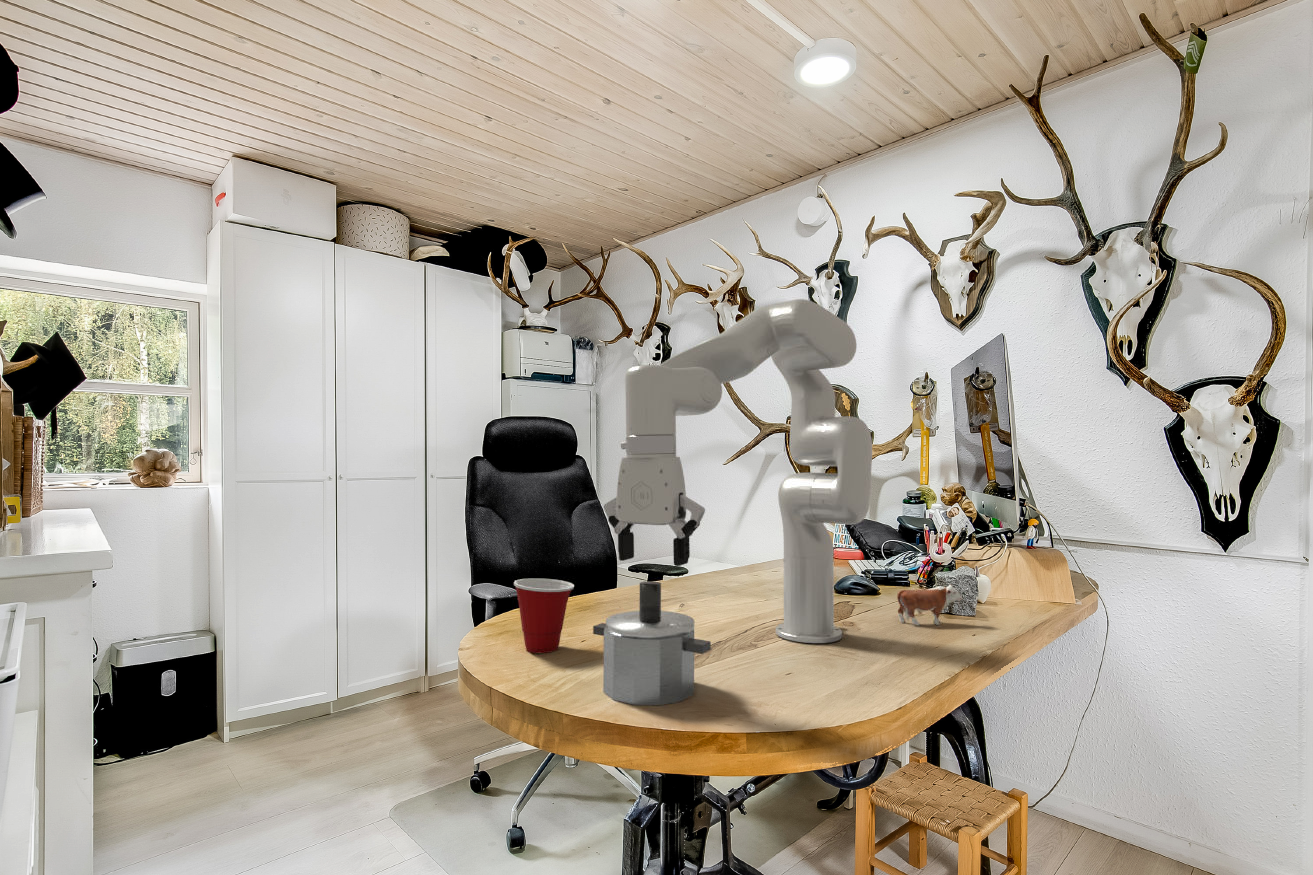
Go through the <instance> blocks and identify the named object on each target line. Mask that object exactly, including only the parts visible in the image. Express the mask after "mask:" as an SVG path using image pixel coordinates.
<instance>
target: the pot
mask: <svg viewBox="0 0 1313 875" xmlns="http://www.w3.org/2000/svg"><path fill="white" fill-rule="evenodd" d="M592 627H593V628H592V635H596V636H602V637H603V681H602V682H603V683H602V686H603V687H602V688H603V690H602V691H603V693H604V694H605V695H606V696H608V697H609V698H611V700H613V701H617V702H621V703H624V704H629V705H632V706H665V705H669V704H673V703H674V704H675V703H680V702H683V701H685V700H687V699H688V698H689V697H692V696H693V695H694V694H695V654H701V655H704V654H706V653H708V652H710V651H712V649H711V648H712V647H711V645H712V644H711V643H712V642H711V641H710V640H704V639H698V638H695V629H694V630H693V631H692V632H691V633H689V634H687V635H684V636H680V637H675V638H668V639H634V638H626V637H621V636H617V635H614V634H612V633H609V632H608V631H607V630H606V622H605V623H604V622H601V623H599V624H596V625H593V626H592Z"/></svg>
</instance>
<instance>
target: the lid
mask: <svg viewBox="0 0 1313 875" xmlns="http://www.w3.org/2000/svg"><path fill="white" fill-rule="evenodd" d="M638 608H639V610H632V611H631V610H630V611H625V612H619V613H616V614H612V615H610V616H608V617H607V618H606V619H605V624H606V630H607V631H608V632H609V633H612V634H614V635H617V636H621V637H626V638H634V639H668V638H675V637H680V636H684V635H687V634H689V633H691V632H692V631H693V630H694V631H695V619H694V618H693V617H691V616H689V615H688V614H684V613H680V612H673V611H667V610H662V583H661V582H660V581H653V580H652V581H641V582H639V607H638Z"/></svg>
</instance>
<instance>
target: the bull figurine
mask: <svg viewBox="0 0 1313 875" xmlns="http://www.w3.org/2000/svg"><path fill="white" fill-rule="evenodd" d="M962 598H963V596H961V595H960V593H959V591H958V590H957V589H956V588H955V587H954V586H953V585H951V584H949V585H948V586H942V585H940V586H939V585H938V586H936V587H932V588H928V589H901V590H899V591H898V593H897V601H898V605H899V608H898V610H897V613H898V617H899V618H898V619H899V621H900V622H901V623H902V624H905V623H906V620H907V621H909V619H911V621H912V624H913V625H915V626H916V627H920V626H921V624H920V622H919V621H918V620H917V618H916V616H915V611H917V613H918V615H922V613H923V612H926V611H930V612H931V613H932V615H933V624H935V625H936V626H940V625H941V620H940V619H939V617H940V614H941V613H942V612H943V611H944V610H945V609H946V607H948V605H949V603H954V602H955V601H961V600H962ZM905 619H906V620H905Z"/></svg>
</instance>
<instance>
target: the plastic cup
mask: <svg viewBox="0 0 1313 875" xmlns="http://www.w3.org/2000/svg"><path fill="white" fill-rule="evenodd" d="M513 586H514V587H515V590H516V595H517V601H518V608H519V615H520V623H521V629H522V633H523V640H524V647H525V649H526V651H527V652H530V653H531V654H533V653H535V654H546V653H551V652H555V651H557V650H558V649H559V645H560V642H561V641H560V640H561V634H562V631H563V628H564V627H563V626H564V620H565V616H566V615H565V614H566V611H567V606H568V605H567V603H568V601H569V597H570V594H571V593H572V590H574V587H575V584H573V583H572V582H569V581H566V580H565V581H564V580H561V579H560V580H559V579H551V578H522V579H517V580H514V582H513Z"/></svg>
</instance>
